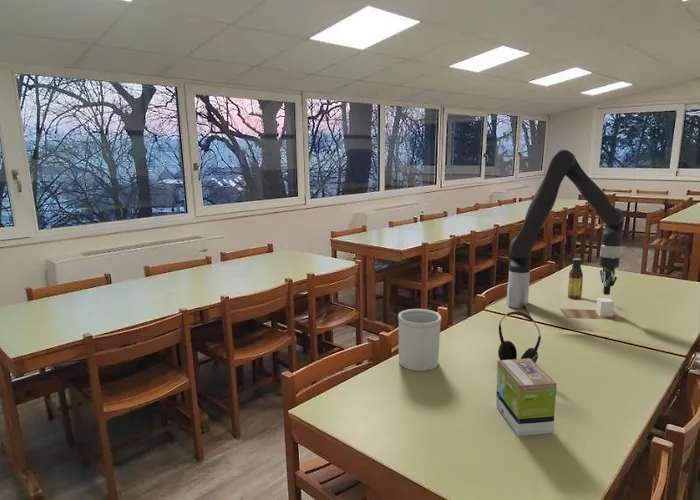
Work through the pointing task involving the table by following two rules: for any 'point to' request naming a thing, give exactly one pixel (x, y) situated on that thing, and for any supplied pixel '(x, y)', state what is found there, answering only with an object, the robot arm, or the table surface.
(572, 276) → the sauce bottle
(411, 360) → the utensil holder
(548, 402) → the tea box
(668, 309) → the table surface
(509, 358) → the headphones
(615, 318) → the board
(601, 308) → the white rectangular block
